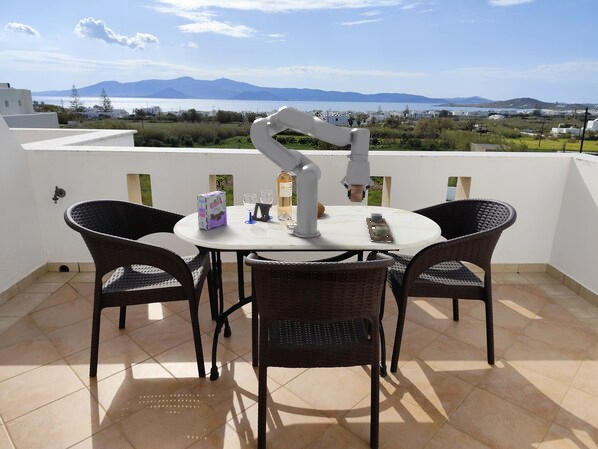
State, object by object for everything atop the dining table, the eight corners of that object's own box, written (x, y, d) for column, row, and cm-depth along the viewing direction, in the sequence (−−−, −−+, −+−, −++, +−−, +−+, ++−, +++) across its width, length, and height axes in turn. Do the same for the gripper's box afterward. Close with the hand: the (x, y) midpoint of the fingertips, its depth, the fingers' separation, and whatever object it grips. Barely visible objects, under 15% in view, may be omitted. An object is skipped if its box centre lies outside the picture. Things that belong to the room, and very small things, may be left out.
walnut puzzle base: (371, 241, 174) (371, 230, 173) (366, 221, 205) (366, 211, 204) (392, 242, 174) (393, 231, 172) (384, 222, 205) (385, 212, 203)
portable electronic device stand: (250, 219, 204) (250, 204, 202) (258, 216, 211) (258, 200, 209) (265, 221, 201) (265, 206, 198) (273, 218, 208) (273, 202, 205)
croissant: (325, 215, 224) (326, 201, 222) (323, 218, 208) (324, 204, 207) (299, 213, 225) (300, 199, 224) (296, 216, 210) (297, 202, 208)
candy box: (207, 230, 184) (205, 196, 180) (198, 228, 187) (196, 194, 183) (227, 224, 195) (226, 191, 191) (218, 222, 199) (217, 190, 194)
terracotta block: (350, 201, 172) (351, 186, 170) (350, 199, 177) (351, 183, 175) (361, 202, 172) (363, 186, 170) (361, 199, 176) (362, 184, 174)
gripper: (339, 158, 166) (336, 200, 171) (380, 159, 164) (376, 202, 170) (339, 155, 173) (336, 196, 178) (378, 157, 172) (374, 198, 177)
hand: (356, 198), depth 174 cm, fingers closed on terracotta block, 5 cm apart
